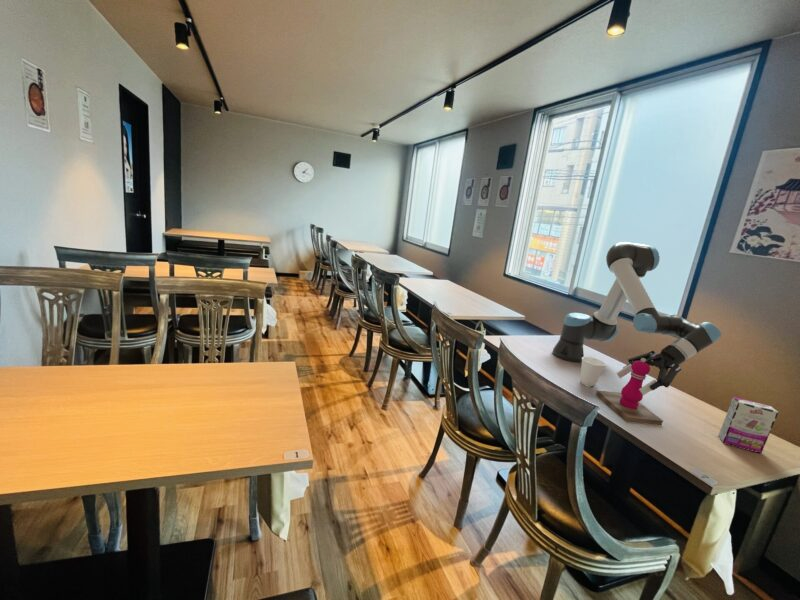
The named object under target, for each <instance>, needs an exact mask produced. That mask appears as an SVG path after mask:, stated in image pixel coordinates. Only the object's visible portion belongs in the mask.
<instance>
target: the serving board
mask: <svg viewBox="0 0 800 600" xmlns="http://www.w3.org/2000/svg"><path fill="white" fill-rule="evenodd" d="M595 395H596V396H597V397H598V398H599V399H600V400H601V401H603V403H604V404H606V405H607V407H609V408H610V409H611V410H613V412H615V414H617V416H619V417H620V418H621V419H622V420H623V421H624V422H626V423H633V424H642V425H643V424H644V425H653V426H662V425H663V423H664V420H663V419H662V418H660V417H659V416H658V415H656V413H654V412H653V411H651V410H650V409H649V408H648V407H646V406H645V405H644V404H642V403H641V401H639V402H638V403H639V405H638V408H637V409H632V408H628V407H626V406H624V405H622V404H621V403H620V398H621V397H623V396H622V395H621V392H616V391H606V390H599V389H597V390H596V392H595Z"/></svg>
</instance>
